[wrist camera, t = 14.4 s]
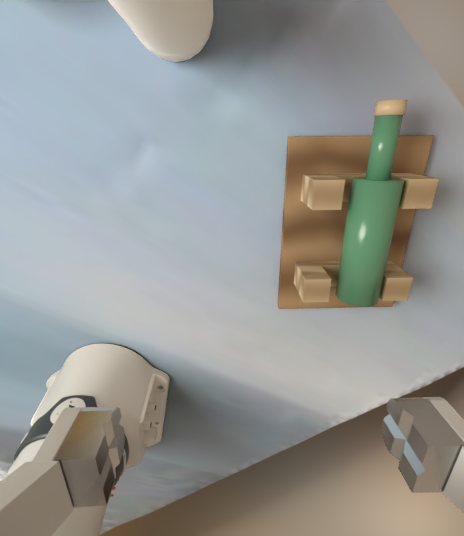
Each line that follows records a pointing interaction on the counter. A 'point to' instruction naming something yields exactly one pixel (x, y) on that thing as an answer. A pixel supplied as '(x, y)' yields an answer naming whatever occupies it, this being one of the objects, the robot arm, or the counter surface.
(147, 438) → the robot arm
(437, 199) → the counter surface
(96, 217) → the counter surface
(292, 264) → the bottle rest
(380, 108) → the bottle
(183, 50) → the bottle
